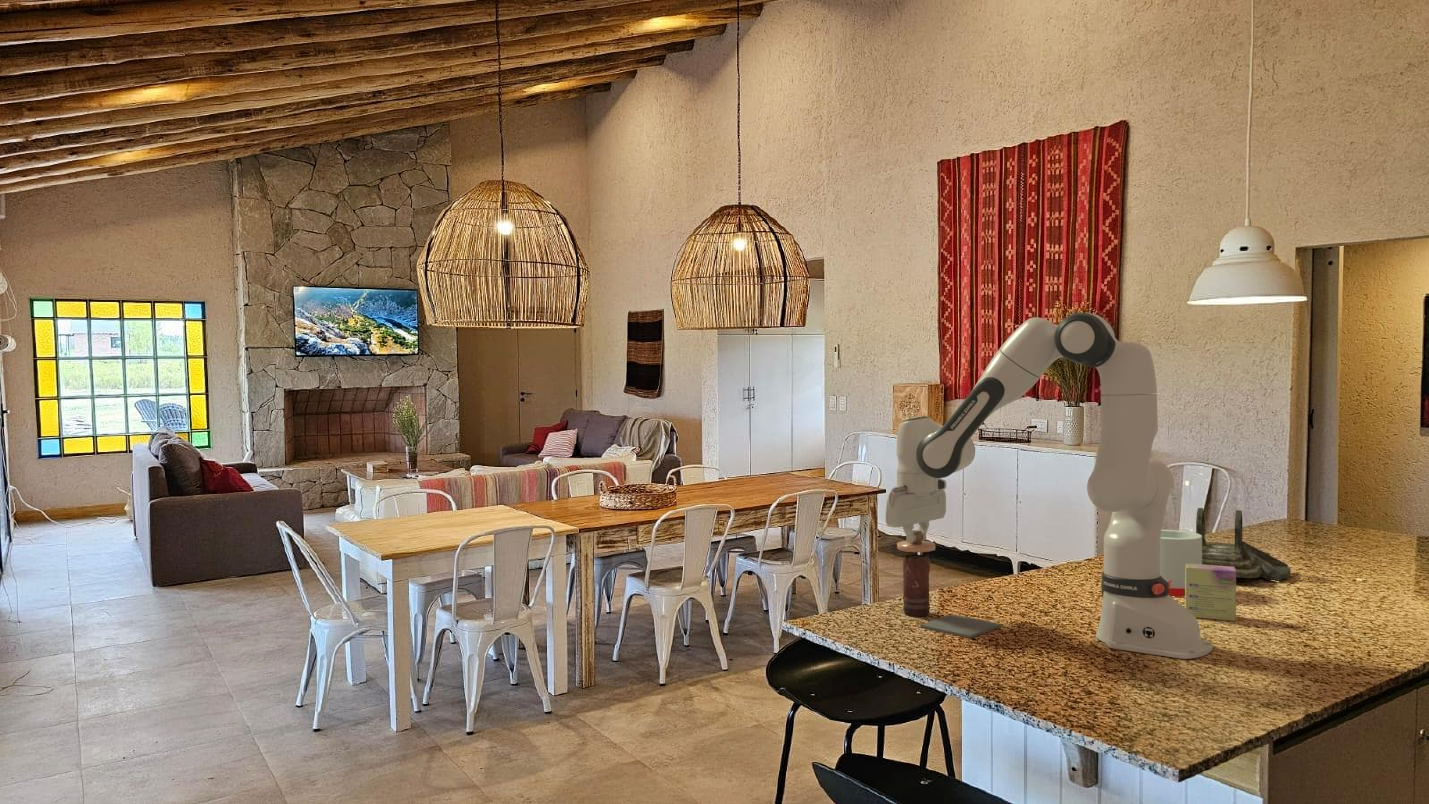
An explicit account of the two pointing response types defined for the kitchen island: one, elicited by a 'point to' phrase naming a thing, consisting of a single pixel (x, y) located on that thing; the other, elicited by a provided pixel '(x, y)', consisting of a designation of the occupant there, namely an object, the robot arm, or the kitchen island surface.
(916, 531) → the lid
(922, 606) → the can
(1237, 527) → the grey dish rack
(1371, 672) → the kitchen island surface
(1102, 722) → the kitchen island surface
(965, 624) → the mat
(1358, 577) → the kitchen island surface
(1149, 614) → the robot arm
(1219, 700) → the kitchen island surface
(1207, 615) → the box
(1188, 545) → the container
